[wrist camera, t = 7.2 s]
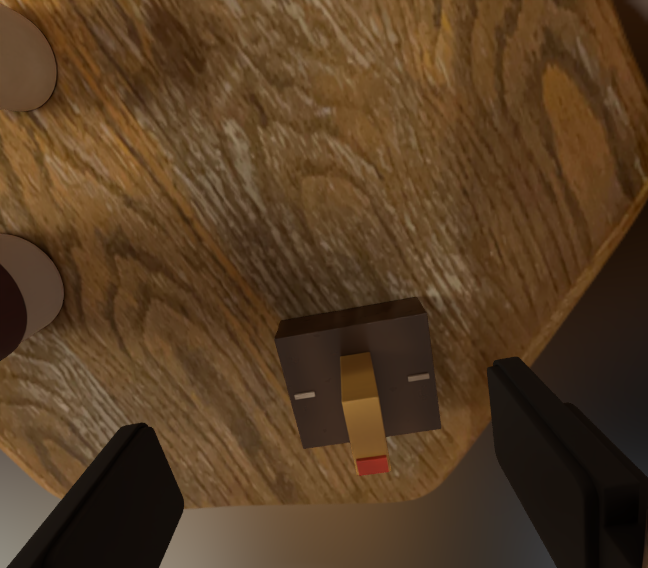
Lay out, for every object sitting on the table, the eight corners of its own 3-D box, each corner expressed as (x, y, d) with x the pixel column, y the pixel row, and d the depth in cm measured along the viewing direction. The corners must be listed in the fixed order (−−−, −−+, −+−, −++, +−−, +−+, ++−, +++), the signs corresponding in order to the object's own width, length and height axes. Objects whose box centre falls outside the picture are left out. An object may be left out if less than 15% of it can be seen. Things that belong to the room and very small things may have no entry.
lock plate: (416, 296, 26) (427, 313, 23) (430, 402, 29) (442, 430, 26) (280, 320, 27) (273, 340, 24) (306, 421, 30) (303, 450, 27)
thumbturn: (339, 356, 24) (341, 405, 19) (369, 351, 24) (379, 399, 19) (352, 418, 26) (357, 479, 21) (380, 414, 26) (392, 474, 21)
